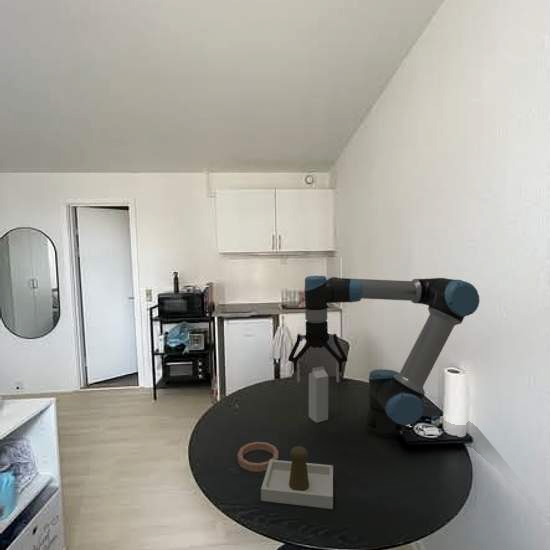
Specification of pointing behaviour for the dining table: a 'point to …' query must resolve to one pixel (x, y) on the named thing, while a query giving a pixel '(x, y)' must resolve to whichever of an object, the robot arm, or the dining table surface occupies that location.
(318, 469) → the tray
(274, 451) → the ring
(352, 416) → the dining table surface
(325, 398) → the milk
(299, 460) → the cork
